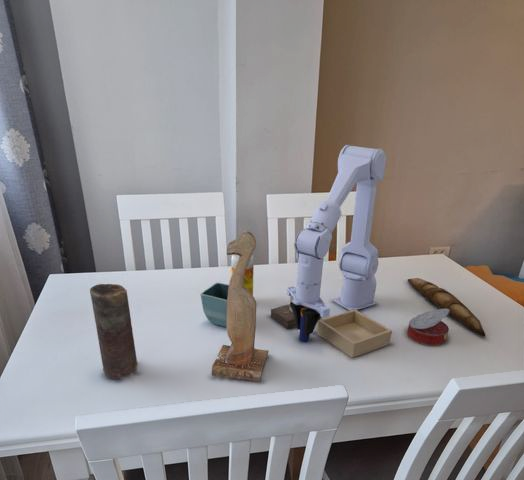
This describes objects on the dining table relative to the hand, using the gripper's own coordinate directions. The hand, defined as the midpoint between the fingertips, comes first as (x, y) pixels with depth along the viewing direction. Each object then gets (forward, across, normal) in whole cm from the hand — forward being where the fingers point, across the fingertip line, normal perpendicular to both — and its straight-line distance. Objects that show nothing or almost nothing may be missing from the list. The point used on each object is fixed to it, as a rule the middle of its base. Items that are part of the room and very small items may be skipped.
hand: (304, 331), depth 119 cm
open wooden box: (+2, +6, +11) cm, 13 cm away
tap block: (+2, -10, +5) cm, 12 cm away
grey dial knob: (0, -10, +5) cm, 12 cm away
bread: (+3, +5, +46) cm, 47 cm away
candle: (+3, -10, -44) cm, 45 cm away
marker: (+2, 0, 0) cm, 2 cm away
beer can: (+3, -26, -3) cm, 26 cm away
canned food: (+3, +14, +29) cm, 33 cm away
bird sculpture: (+3, +2, -20) cm, 20 cm away
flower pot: (+3, -18, -13) cm, 23 cm away
